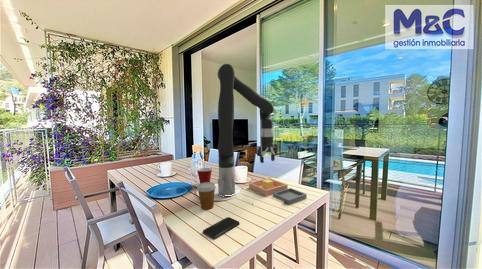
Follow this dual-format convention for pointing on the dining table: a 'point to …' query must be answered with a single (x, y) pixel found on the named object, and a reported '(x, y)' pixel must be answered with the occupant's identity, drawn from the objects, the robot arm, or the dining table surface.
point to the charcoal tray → (290, 195)
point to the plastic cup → (204, 174)
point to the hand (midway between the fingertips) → (267, 161)
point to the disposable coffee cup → (206, 195)
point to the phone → (220, 228)
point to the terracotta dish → (277, 187)
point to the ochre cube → (267, 184)
